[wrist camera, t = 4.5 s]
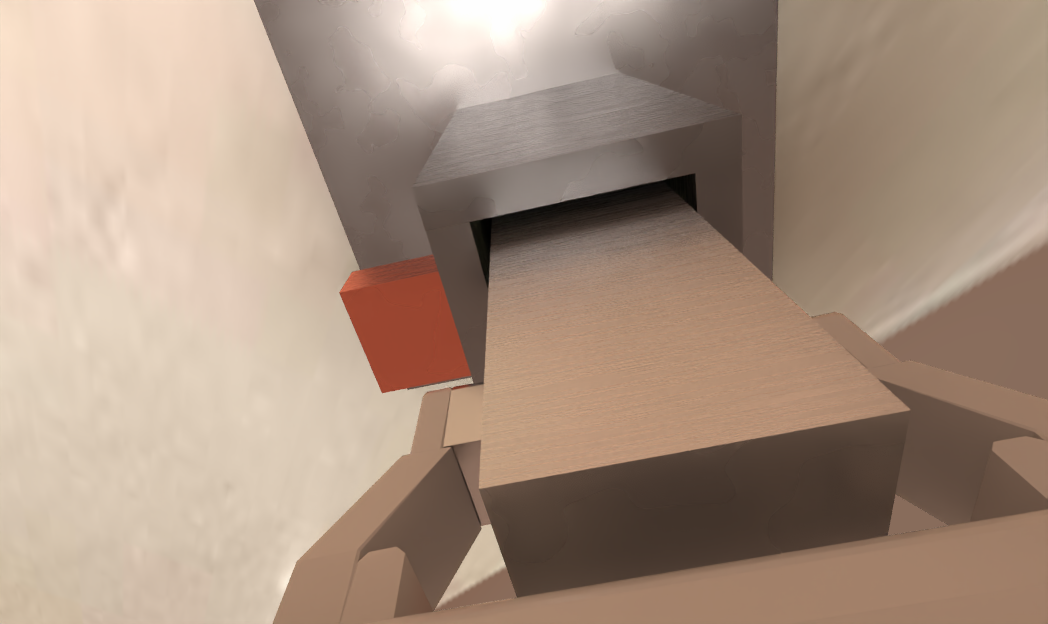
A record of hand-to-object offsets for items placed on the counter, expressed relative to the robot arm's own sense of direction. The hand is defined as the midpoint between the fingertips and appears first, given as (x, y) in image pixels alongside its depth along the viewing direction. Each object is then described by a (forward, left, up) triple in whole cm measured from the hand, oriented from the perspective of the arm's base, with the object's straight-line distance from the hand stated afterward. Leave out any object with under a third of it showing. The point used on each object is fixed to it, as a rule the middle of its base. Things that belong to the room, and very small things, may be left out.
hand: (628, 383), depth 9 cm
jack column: (0, 0, -14) cm, 14 cm away
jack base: (0, 0, -18) cm, 18 cm away
